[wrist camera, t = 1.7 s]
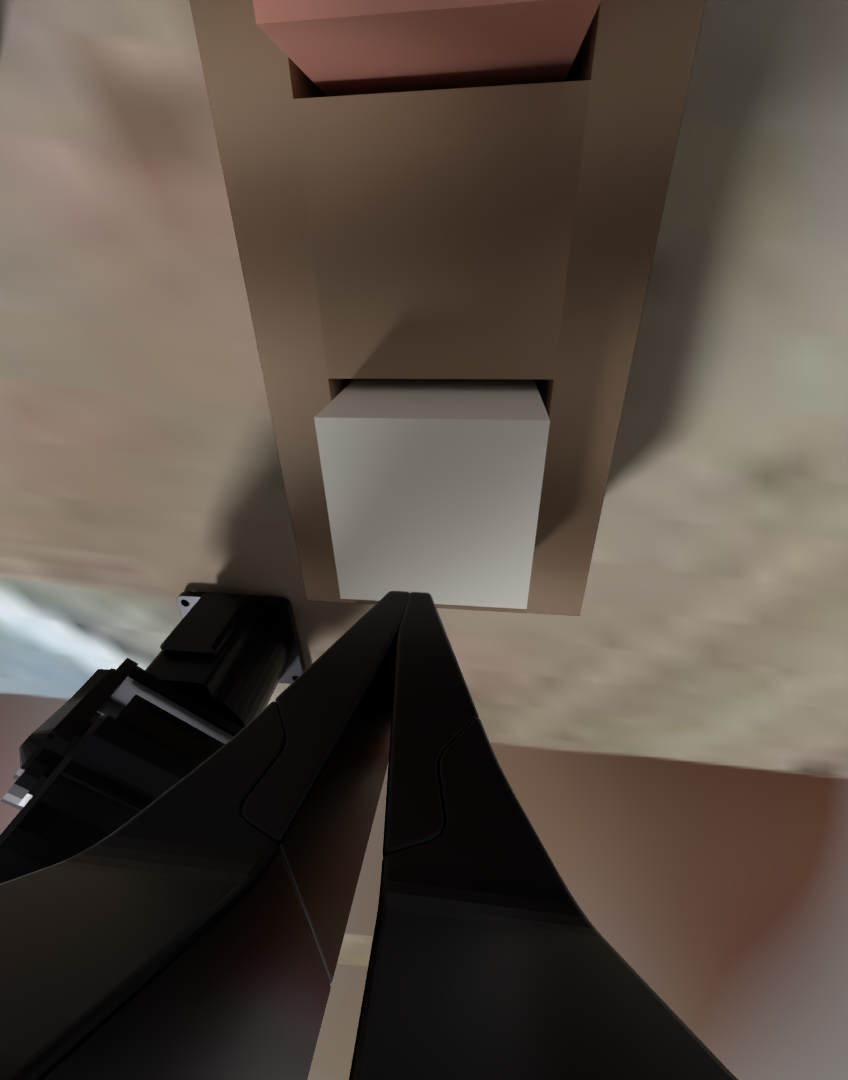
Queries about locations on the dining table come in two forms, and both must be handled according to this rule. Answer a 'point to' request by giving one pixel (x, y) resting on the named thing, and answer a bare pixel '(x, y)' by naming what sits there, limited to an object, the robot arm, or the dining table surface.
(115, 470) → the dining table surface
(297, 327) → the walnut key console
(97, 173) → the dining table surface
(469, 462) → the ivory key
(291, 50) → the brick-red key
